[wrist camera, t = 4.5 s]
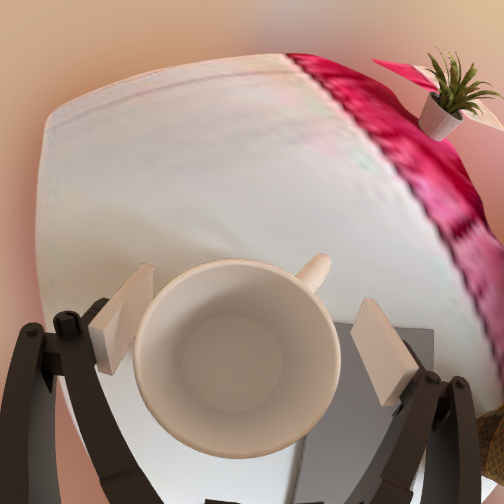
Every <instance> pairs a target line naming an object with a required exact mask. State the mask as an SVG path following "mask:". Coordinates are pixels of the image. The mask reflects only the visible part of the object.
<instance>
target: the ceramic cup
mask: <svg viewBox="0 0 504 504" xmlns="http://www.w3.org/2000/svg"><path fill="white" fill-rule="evenodd" d="M476 423H477V430H478V438H479V447H480V460H481V475H482V476H484V477H486V478H489V479H491V480H493V481H495V482H496V483H498V484H500V485H502V486H504V404H503V405H501V406H500V407H499V408H498V409H497V410H493V411H489V412H484V413H482V414H480V415H478V416H476Z"/></svg>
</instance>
